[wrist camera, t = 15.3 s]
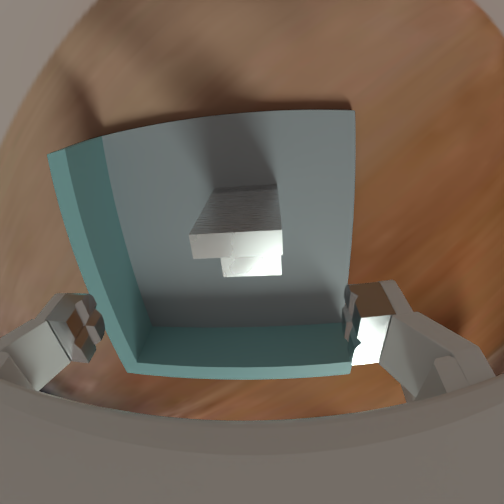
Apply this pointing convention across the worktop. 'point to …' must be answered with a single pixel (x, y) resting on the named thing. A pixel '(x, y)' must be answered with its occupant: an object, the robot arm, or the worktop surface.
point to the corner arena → (210, 269)
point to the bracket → (241, 230)
